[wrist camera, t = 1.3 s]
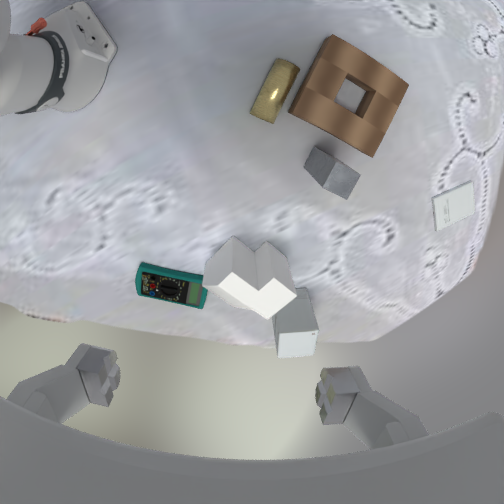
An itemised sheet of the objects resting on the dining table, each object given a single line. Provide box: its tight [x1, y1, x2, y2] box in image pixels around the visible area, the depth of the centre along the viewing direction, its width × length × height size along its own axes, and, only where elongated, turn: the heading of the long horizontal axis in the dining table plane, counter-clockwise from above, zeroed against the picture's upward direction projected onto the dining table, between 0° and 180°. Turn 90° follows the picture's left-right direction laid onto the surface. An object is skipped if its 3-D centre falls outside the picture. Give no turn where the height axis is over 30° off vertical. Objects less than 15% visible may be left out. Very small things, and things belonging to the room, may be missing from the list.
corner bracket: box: [202, 236, 297, 320], centre depth 50 cm, size 11×11×12 cm
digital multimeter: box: [135, 262, 207, 309], centre depth 56 cm, size 7×15×3 cm, turn 75°
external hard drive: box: [432, 181, 475, 231], centre depth 50 cm, size 2×8×12 cm
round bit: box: [250, 59, 300, 124], centre depth 39 cm, size 10×4×4 cm, turn 156°
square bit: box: [304, 147, 361, 200], centre depth 41 cm, size 4×4×12 cm
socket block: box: [288, 34, 409, 158], centre depth 39 cm, size 15×15×4 cm
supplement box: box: [272, 288, 319, 358], centre depth 55 cm, size 7×7×13 cm
